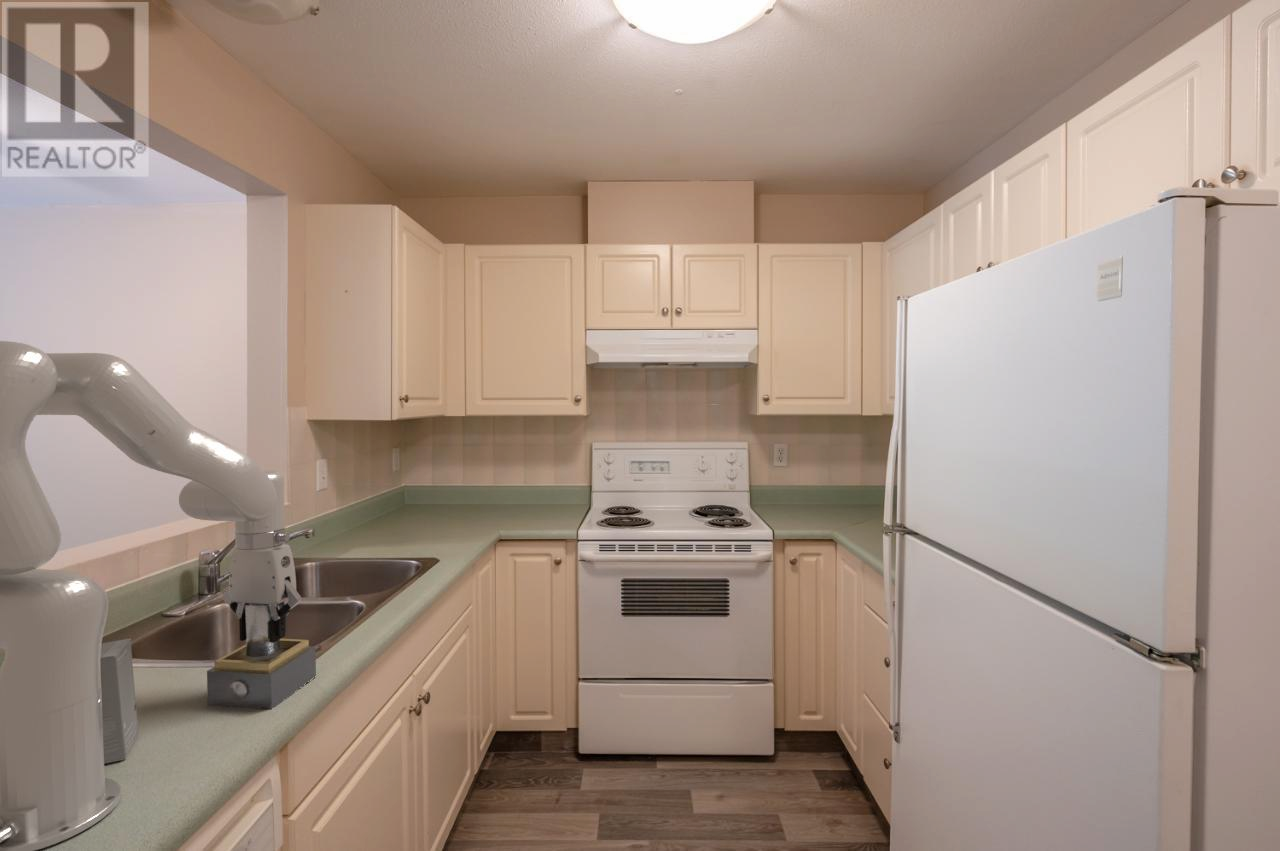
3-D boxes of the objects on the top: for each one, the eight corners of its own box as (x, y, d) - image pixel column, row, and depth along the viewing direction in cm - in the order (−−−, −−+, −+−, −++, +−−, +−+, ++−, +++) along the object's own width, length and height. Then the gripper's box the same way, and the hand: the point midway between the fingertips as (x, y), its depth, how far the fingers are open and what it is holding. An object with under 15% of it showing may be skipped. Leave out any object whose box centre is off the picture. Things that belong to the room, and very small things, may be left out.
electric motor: (266, 657, 103) (264, 602, 102) (239, 656, 103) (237, 600, 103) (291, 642, 109) (290, 590, 109) (266, 641, 110) (265, 589, 109)
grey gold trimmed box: (269, 710, 99) (268, 667, 99) (205, 706, 100) (204, 663, 100) (316, 677, 111) (315, 638, 111) (258, 673, 112) (257, 635, 112)
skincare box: (126, 761, 85) (122, 655, 85) (60, 776, 82) (55, 666, 81) (141, 732, 93) (137, 634, 92) (80, 745, 89) (77, 643, 88)
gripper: (318, 536, 108) (320, 632, 108) (233, 533, 109) (236, 628, 110) (290, 546, 100) (292, 649, 101) (199, 543, 102) (202, 644, 103)
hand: (262, 637), depth 105 cm, fingers closed on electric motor, 5 cm apart
